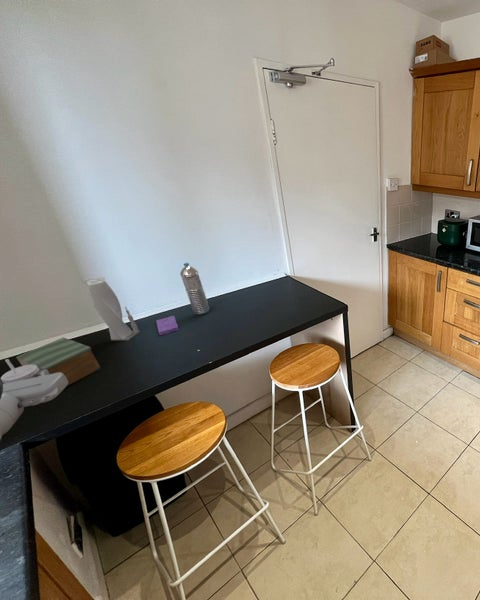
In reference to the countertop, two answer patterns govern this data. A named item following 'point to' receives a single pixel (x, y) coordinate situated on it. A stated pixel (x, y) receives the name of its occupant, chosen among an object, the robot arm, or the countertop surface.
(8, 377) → the smoothie
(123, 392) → the countertop surface
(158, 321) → the sponge
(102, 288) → the skyscraper
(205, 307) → the water bottle
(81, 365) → the wooden box
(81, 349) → the lid
